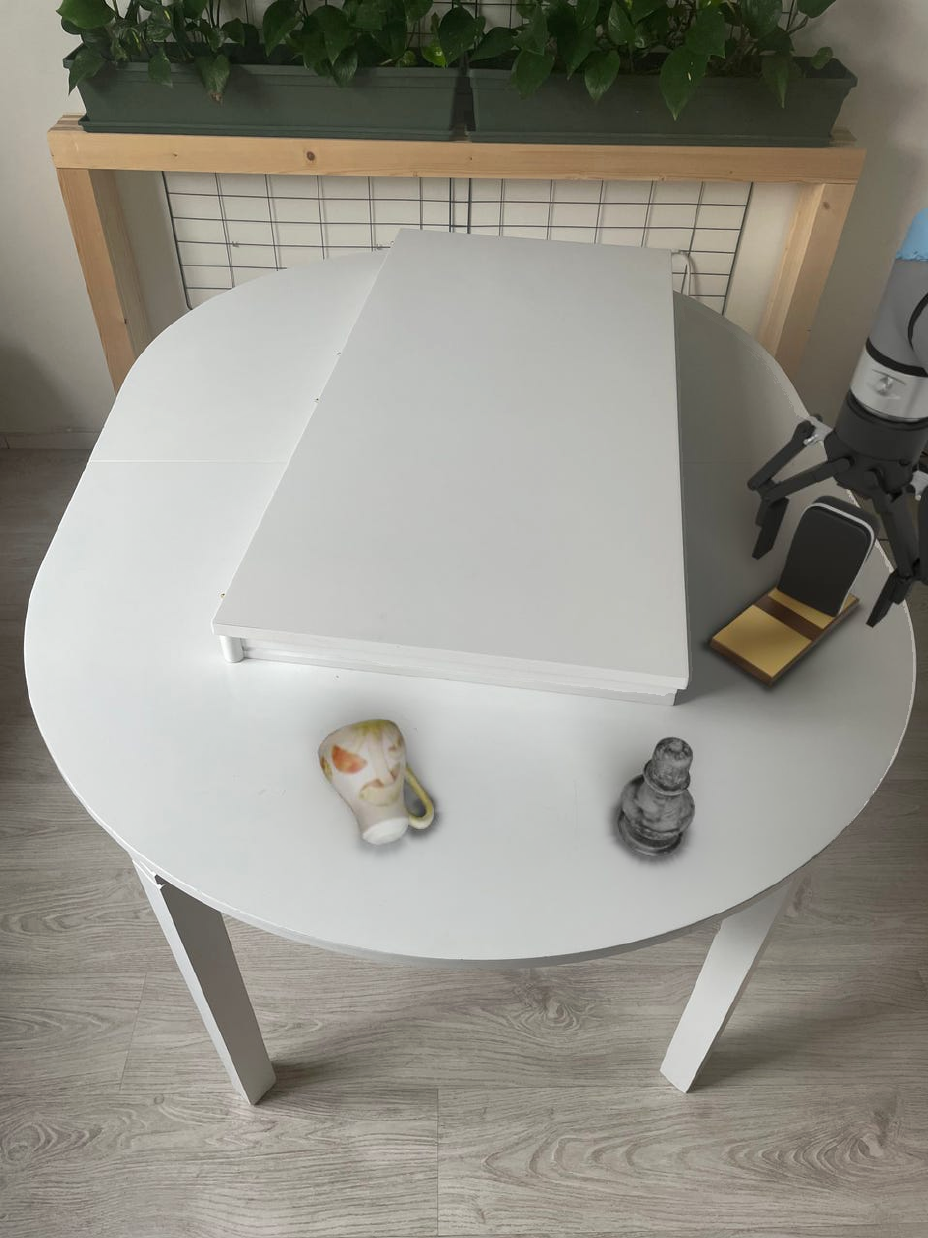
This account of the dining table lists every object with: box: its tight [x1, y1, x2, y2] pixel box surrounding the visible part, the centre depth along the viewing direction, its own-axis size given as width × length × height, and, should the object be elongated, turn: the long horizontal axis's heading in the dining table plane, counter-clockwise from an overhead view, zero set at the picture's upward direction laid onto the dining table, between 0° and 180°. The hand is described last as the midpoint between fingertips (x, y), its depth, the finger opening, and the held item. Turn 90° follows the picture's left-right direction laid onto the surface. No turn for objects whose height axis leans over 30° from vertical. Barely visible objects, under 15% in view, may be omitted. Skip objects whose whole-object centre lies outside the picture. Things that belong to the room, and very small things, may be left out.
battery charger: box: [775, 494, 881, 617], centre depth 90 cm, size 7×4×11 cm, turn 51°
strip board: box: [709, 584, 860, 686], centre depth 93 cm, size 7×16×1 cm, turn 133°
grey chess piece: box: [617, 736, 696, 857], centre depth 72 cm, size 6×6×12 cm
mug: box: [317, 718, 435, 846], centre depth 75 cm, size 8×10×10 cm
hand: (817, 585), depth 93 cm, fingers open, 12 cm apart
